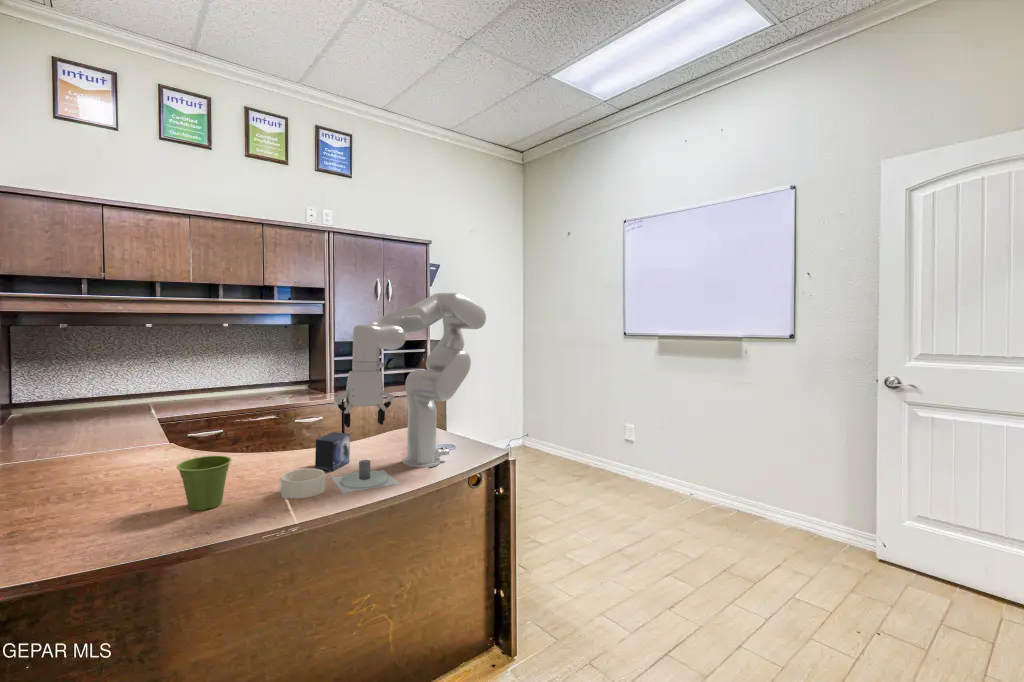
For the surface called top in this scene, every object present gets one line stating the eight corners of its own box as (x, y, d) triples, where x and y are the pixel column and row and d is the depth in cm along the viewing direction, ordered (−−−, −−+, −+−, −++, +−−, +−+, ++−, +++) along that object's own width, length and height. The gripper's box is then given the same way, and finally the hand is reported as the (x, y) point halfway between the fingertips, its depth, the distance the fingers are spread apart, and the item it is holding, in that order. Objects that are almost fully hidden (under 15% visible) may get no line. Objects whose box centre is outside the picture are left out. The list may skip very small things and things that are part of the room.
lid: (379, 471, 153) (379, 452, 153) (393, 483, 143) (393, 464, 142) (336, 477, 146) (336, 458, 146) (347, 491, 135) (348, 471, 135)
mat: (383, 471, 155) (383, 469, 155) (398, 485, 143) (398, 483, 143) (330, 479, 146) (331, 477, 146) (342, 495, 134) (342, 493, 134)
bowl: (319, 483, 143) (319, 466, 143) (328, 495, 134) (328, 477, 133) (278, 489, 137) (278, 472, 137) (284, 503, 128) (284, 484, 127)
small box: (332, 474, 151) (333, 440, 150) (313, 472, 152) (314, 439, 152) (350, 464, 161) (351, 432, 161) (332, 462, 163) (333, 431, 162)
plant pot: (183, 499, 128) (183, 457, 127) (235, 494, 132) (235, 454, 131) (170, 517, 117) (170, 471, 116) (227, 512, 121) (227, 467, 120)
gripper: (390, 365, 150) (388, 420, 151) (332, 366, 141) (330, 425, 142) (398, 367, 144) (397, 425, 145) (338, 369, 135) (336, 430, 135)
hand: (364, 425), depth 143 cm, fingers open, 9 cm apart
